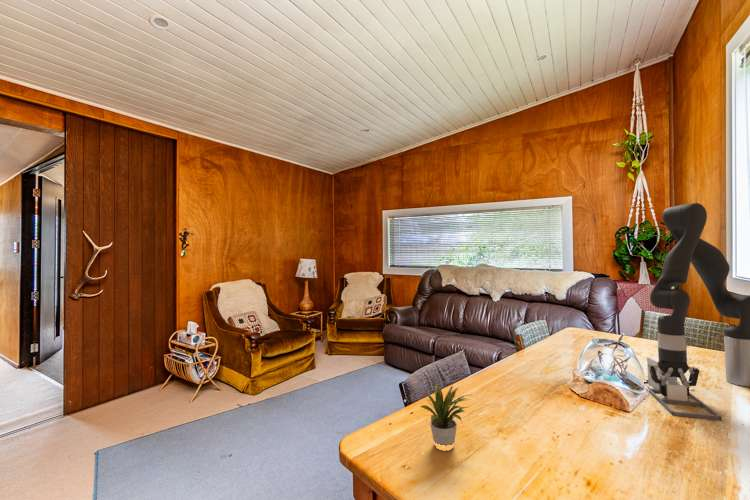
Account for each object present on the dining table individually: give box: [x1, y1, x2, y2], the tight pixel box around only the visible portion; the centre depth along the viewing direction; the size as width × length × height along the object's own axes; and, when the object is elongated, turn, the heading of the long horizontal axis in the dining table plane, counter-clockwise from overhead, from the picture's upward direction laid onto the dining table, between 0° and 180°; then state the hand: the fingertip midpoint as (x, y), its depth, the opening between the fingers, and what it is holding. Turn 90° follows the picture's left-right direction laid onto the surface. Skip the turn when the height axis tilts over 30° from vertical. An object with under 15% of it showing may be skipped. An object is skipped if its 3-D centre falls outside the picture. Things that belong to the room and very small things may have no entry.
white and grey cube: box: [663, 381, 688, 401], centre depth 120 cm, size 5×5×5 cm
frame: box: [645, 379, 723, 421], centre depth 120 cm, size 30×12×1 cm, turn 159°
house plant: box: [419, 383, 471, 446], centre depth 93 cm, size 14×14×16 cm
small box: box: [646, 356, 678, 389], centre depth 129 cm, size 8×6×10 cm
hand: (674, 396), depth 120 cm, fingers closed on white and grey cube, 5 cm apart
